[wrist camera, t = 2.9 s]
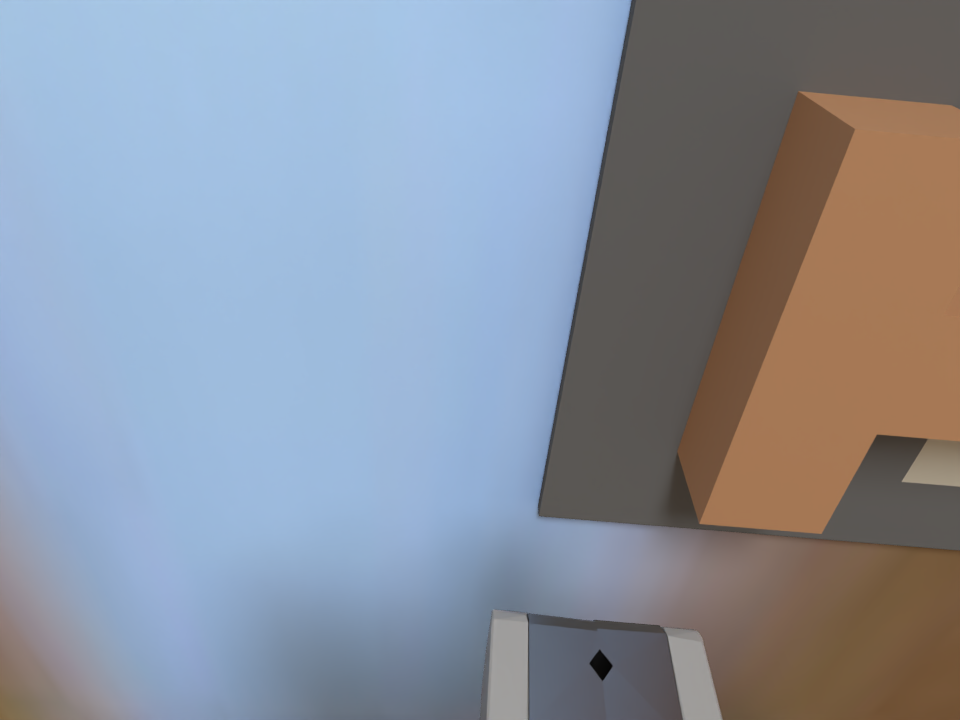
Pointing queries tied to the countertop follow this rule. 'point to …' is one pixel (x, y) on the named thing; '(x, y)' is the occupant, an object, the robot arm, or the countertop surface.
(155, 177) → the countertop surface
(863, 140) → the t block
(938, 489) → the t mat
